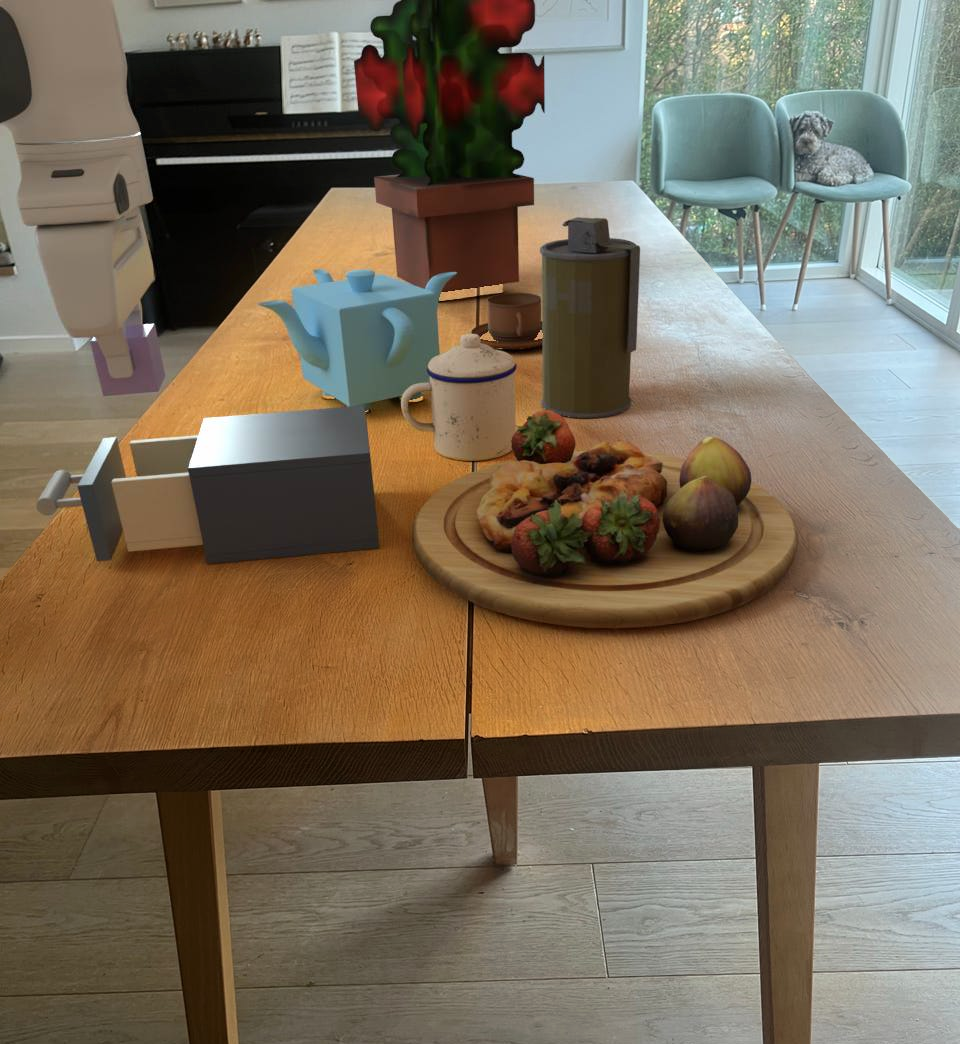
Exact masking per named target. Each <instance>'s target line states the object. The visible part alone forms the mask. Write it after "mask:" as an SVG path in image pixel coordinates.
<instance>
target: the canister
mask: <svg viewBox="0 0 960 1044" xmlns="http://www.w3.org/2000/svg"><path fill="white" fill-rule="evenodd" d="M562 226H563V227H565V228H566V227H567V239H558V240H554V241H550V242H546V243H545V244H542V246H540V248H539V253H540V255H541V273H542V274H541V280H542V281H541V287H542V288H541V289H542V290H541V293H542V294H541V321H542V333H543V345H542V398H541V400H540V405H541V407H542V406H543V407H544V408H545V409H546V410H552V411H553V412H555V413H556V414H559V415H562V417H564V416H569V417H577V418H576V419H588V418H589V419H599V418H600V419H601V418H606V417H610V416H615V415H618V414H622V413H623V412H625V411H627V410H628V409H629V408H631V406H632V402H633V401H632V397H631V396H630V385H631V383H630V382H631V360H632V353H633V352H635V351H636V350H637V342H638V318H639V317H638V316H639V289H640V288H639V287H640V267H641V266H640V265H641V263H640V262H641V247H640V245H638V244H636V243H635V242H633V241H631V240H627V239H622V238H614V237H613V238H612V237H610V227H609V220H608V219H607V218H605V217H594V218H592V217H578V216H577V217H574V218H571V219H568V220H565V221H564V222H563V224H562ZM543 407H542V408H543ZM544 408H543V409H544ZM545 409H544V410H545ZM569 417H568V418H569Z"/></svg>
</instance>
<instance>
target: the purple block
mask: <svg viewBox="0 0 960 1044" xmlns="http://www.w3.org/2000/svg"><path fill="white" fill-rule="evenodd" d="M125 328H126V332H125V335H126V339H127V343H128V347H129V350H131V351H132V355H133V360H134V365H135V369H134V372H133V374H132V375H131V377H128V378H116V379H115V378H113V377H111V376H110V374H109V371H108V366H107V362H106V358H105V356H104V354H103V352H102V350H101V348H100V346H99V344H98V342H97V340H96V338H95V337H91V339H90V340H89V344H90V348H91V352H92V357H93V361H94V365H95V369H96V374H97V377H98V382H99V385H100V390H101V393H102V397H109V396H121V395H135V394H146V393H158V392H159V391H160V389H161V387H162V385H163V383H164V380H165V378H166V371H165V366H164V361H163V357H162V352H161V347H160V342H159V338H158V337H159V336H158V333H157V327H156V324H155V323H145V324H144V323H143V324H142V325H129V326H125Z"/></svg>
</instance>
